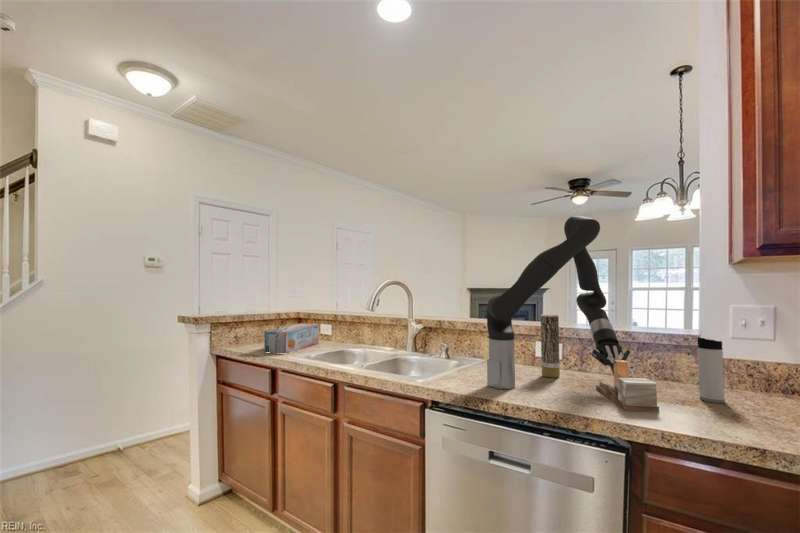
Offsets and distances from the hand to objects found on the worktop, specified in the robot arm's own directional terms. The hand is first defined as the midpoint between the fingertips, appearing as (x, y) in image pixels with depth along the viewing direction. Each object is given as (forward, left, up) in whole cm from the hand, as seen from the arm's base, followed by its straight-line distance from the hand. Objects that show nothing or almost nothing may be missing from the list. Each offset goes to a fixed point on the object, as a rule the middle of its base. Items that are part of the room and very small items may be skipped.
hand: (618, 375), depth 127 cm
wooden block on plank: (-3, -3, -7) cm, 8 cm away
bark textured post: (+4, +29, -7) cm, 30 cm away
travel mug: (+20, -19, -7) cm, 28 cm away
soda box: (-66, +154, -7) cm, 168 cm away
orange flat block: (-5, -5, -5) cm, 9 cm away
